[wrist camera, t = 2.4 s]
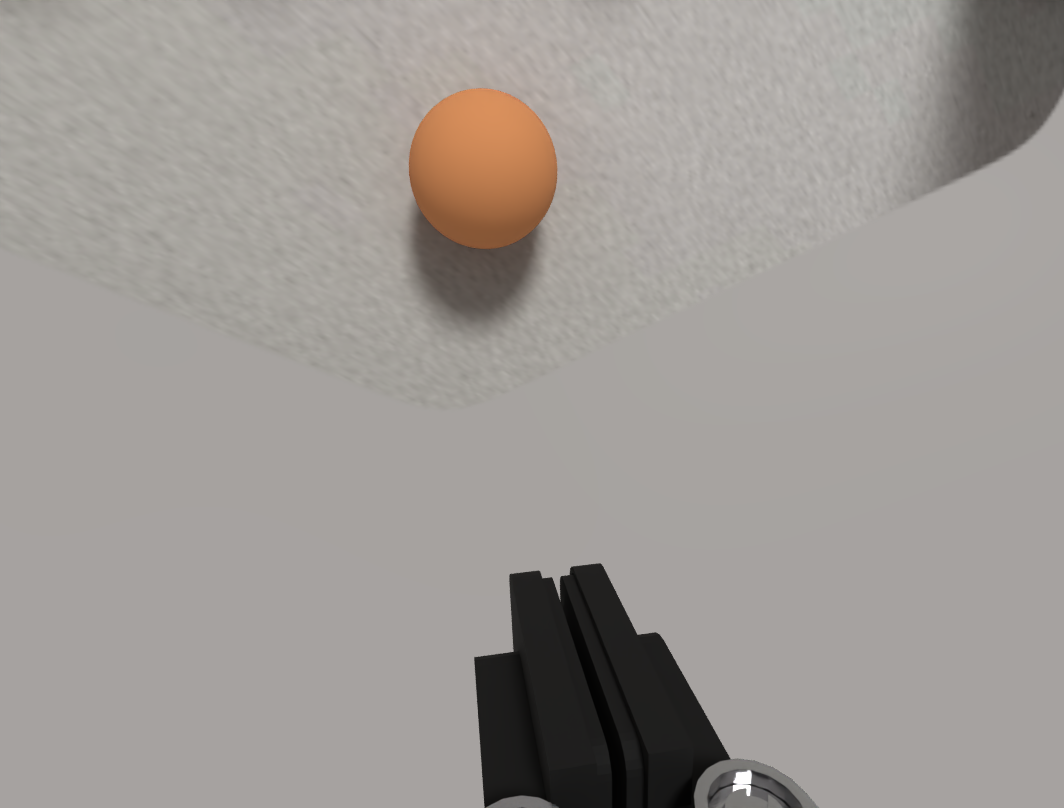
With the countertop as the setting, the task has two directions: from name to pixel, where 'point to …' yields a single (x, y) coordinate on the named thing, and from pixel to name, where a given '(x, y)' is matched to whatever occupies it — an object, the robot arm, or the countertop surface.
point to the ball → (483, 168)
